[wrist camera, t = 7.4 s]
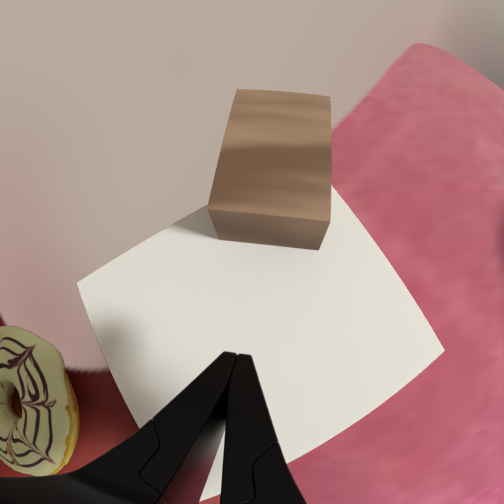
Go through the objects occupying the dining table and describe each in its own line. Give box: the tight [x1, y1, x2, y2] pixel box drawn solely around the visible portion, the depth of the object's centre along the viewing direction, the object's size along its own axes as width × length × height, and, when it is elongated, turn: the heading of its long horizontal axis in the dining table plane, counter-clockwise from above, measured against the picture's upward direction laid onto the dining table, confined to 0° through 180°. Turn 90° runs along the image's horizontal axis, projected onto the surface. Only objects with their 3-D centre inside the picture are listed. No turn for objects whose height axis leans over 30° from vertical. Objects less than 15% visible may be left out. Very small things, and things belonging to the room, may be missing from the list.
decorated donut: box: [0, 326, 80, 476], centre depth 15 cm, size 10×11×4 cm
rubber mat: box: [77, 185, 445, 502], centre depth 17 cm, size 16×18×1 cm
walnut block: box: [207, 89, 331, 251], centre depth 18 cm, size 4×6×9 cm
